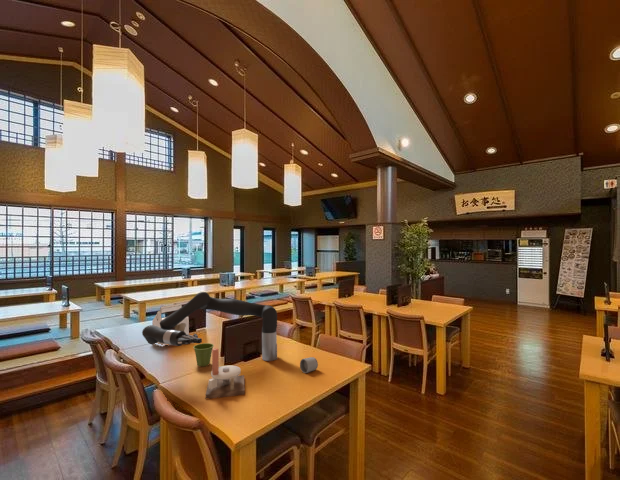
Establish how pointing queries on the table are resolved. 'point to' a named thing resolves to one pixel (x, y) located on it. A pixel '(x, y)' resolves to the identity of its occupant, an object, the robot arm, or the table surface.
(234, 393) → the post base
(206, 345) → the plant pot
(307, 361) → the ceramic mug
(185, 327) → the gable box
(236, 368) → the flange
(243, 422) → the table surface
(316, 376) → the table surface
